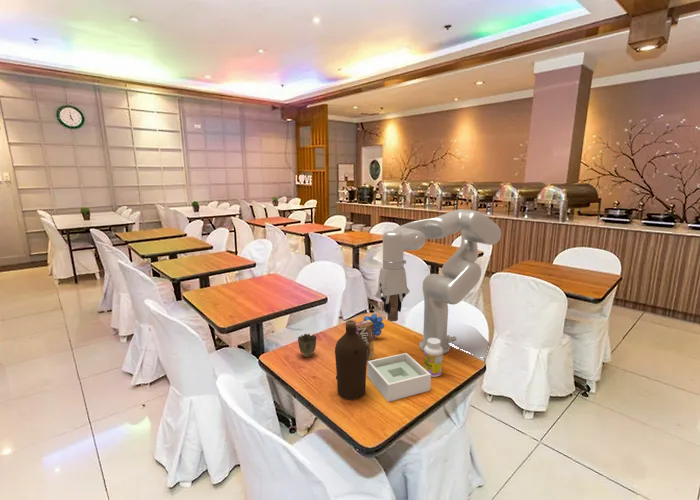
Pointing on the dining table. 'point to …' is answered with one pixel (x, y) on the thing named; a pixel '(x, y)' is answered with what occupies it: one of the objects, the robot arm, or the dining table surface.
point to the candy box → (366, 336)
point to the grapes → (375, 323)
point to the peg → (393, 308)
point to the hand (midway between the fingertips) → (392, 311)
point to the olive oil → (351, 363)
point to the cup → (307, 344)
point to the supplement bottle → (433, 357)
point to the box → (398, 376)
